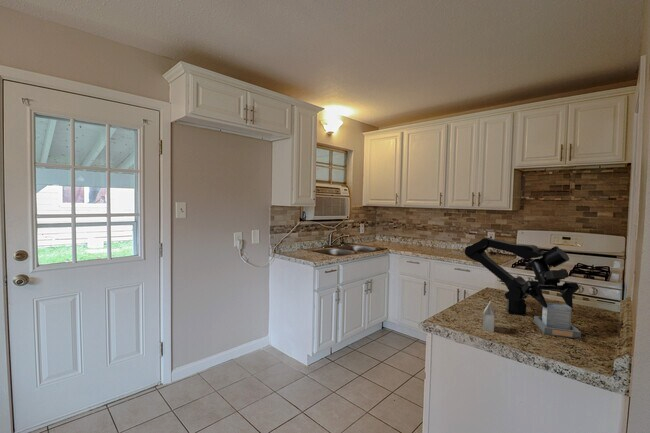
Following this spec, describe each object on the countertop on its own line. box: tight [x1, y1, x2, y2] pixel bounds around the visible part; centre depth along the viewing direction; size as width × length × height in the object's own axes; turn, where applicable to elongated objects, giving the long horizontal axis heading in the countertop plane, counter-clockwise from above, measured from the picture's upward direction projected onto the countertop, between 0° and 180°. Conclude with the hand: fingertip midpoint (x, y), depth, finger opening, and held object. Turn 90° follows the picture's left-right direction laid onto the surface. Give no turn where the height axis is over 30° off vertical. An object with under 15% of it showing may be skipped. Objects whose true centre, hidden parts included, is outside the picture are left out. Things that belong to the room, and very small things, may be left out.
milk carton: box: [482, 300, 496, 333], centre depth 121 cm, size 4×7×10 cm, turn 149°
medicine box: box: [541, 301, 572, 330], centre depth 120 cm, size 8×4×9 cm, turn 74°
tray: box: [533, 315, 582, 340], centre depth 120 cm, size 11×13×2 cm
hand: (559, 308), depth 118 cm, fingers open, 9 cm apart
